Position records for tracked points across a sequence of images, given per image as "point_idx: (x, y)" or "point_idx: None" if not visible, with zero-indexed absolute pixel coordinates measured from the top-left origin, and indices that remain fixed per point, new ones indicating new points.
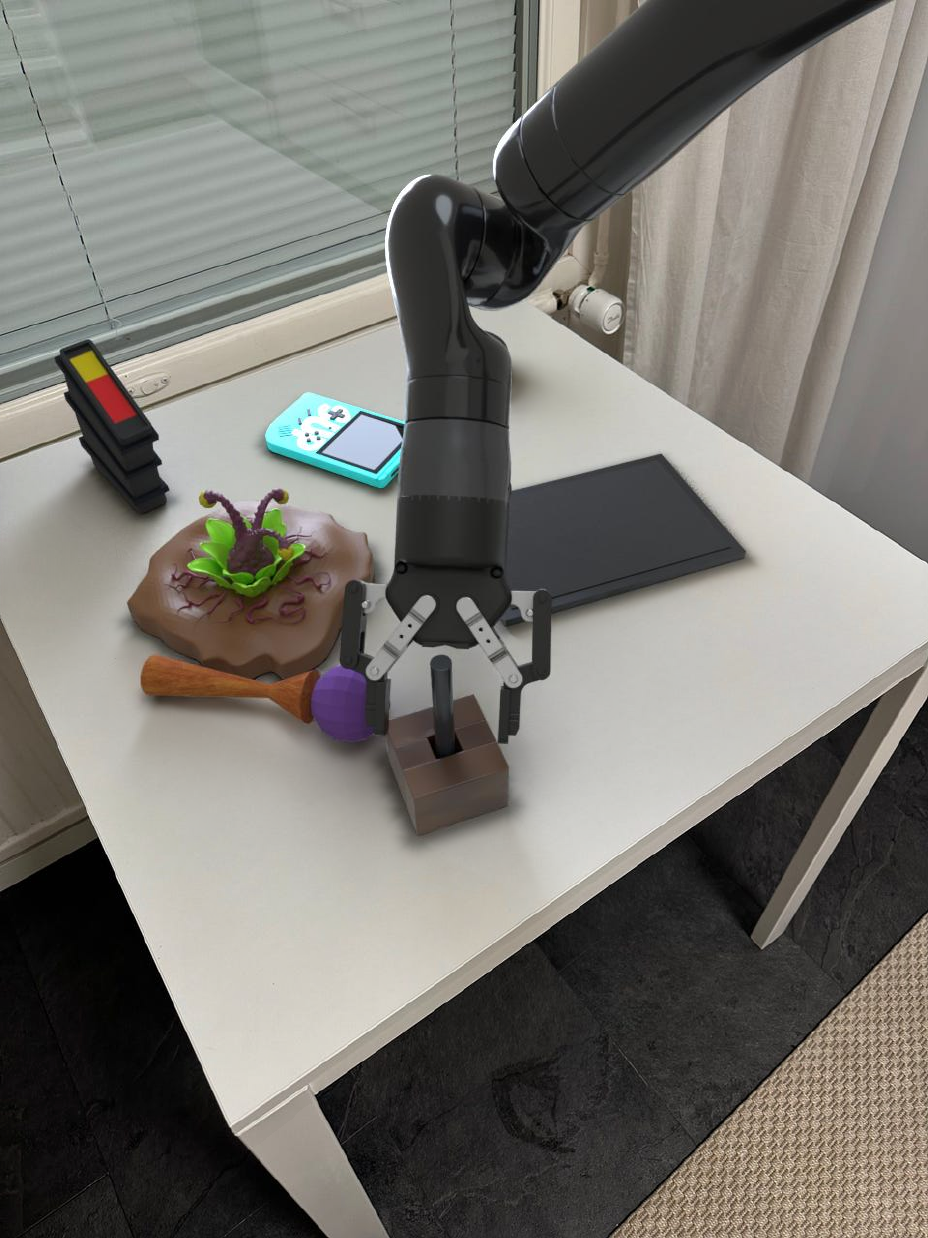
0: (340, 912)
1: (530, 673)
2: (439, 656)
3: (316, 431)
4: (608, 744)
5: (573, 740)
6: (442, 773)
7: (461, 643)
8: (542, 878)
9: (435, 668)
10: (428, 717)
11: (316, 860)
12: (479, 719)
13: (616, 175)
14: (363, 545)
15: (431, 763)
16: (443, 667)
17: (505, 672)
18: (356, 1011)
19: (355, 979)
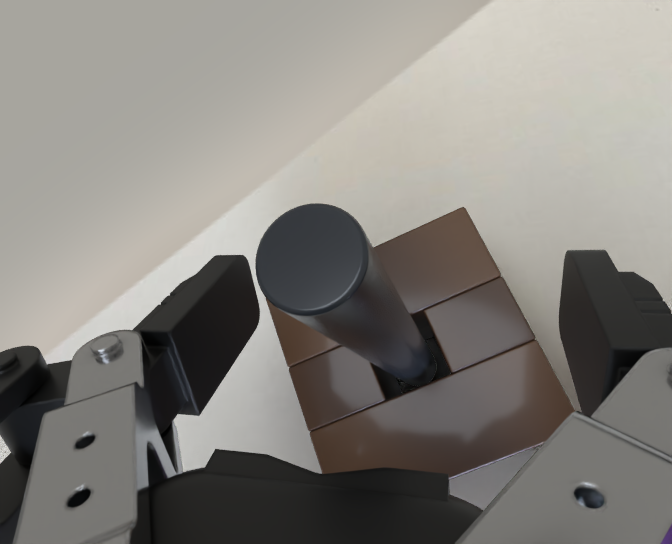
0: (577, 118)
1: (54, 379)
2: (316, 293)
3: None
4: None
5: (189, 468)
6: (405, 274)
7: (235, 473)
8: (268, 208)
9: (337, 215)
10: (455, 438)
11: (651, 195)
12: (323, 429)
13: None
14: None
15: (433, 296)
16: (295, 222)
17: (117, 363)
18: (517, 5)
19: (528, 38)
